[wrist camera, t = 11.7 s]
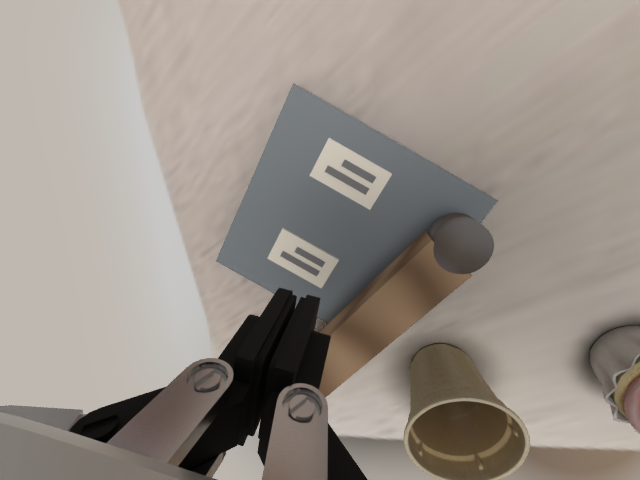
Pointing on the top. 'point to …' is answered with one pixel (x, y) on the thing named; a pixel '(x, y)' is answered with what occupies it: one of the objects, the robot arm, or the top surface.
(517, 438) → the flower pot
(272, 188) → the label board
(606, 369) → the cupcake
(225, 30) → the top surface
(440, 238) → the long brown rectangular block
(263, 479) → the robot arm
